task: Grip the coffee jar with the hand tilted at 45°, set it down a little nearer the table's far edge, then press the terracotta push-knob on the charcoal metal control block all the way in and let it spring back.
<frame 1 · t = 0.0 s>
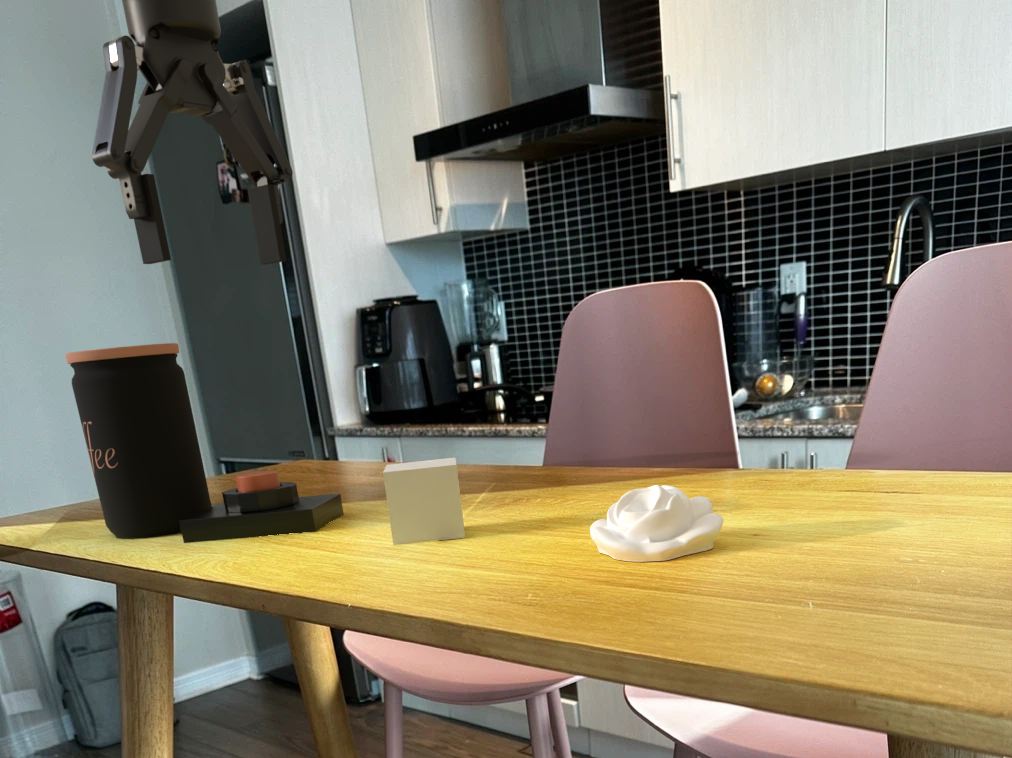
hand: (218, 263, 93), 24 cm above the table, tool pointing down, fingers open, 13 cm apart
coffee jar: (163, 532, 108), on the table
button: (258, 482, 100), point 4 cm above the table, slide at 0.1 cm
control block: (266, 528, 101), on the table
beige cube: (430, 537, 88), on the table
rose: (656, 550, 74), on the table
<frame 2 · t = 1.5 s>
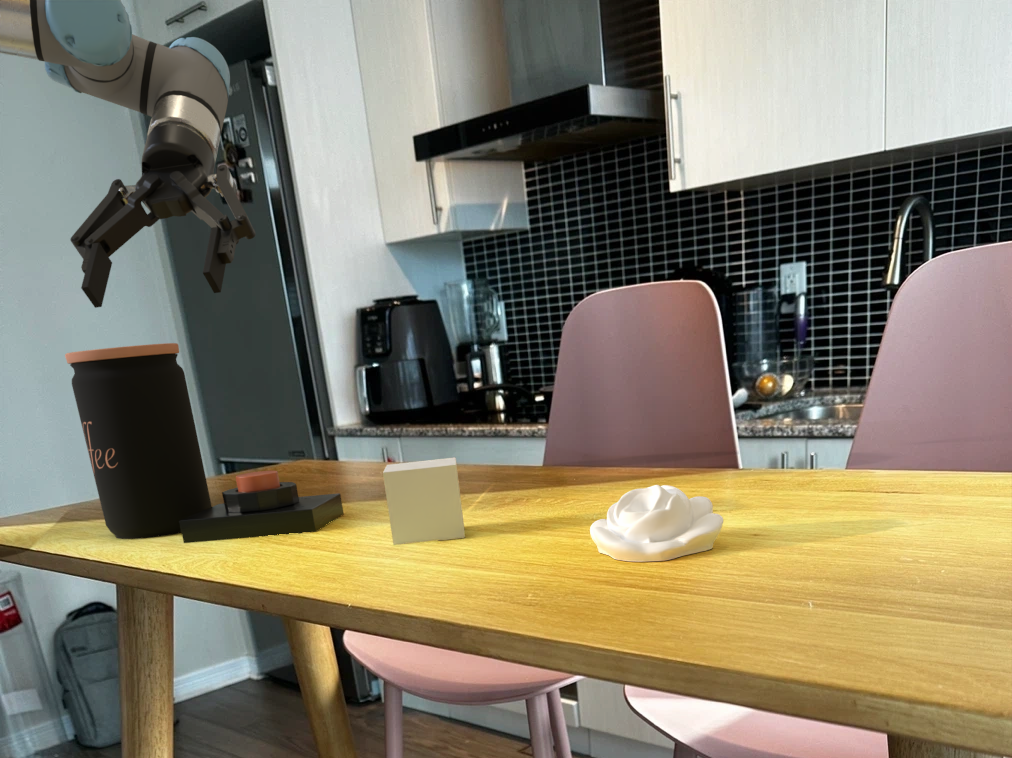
hand: (151, 290, 108), 24 cm above the table, tool tilted 45°, fingers open, 13 cm apart
nothing on the table moved.
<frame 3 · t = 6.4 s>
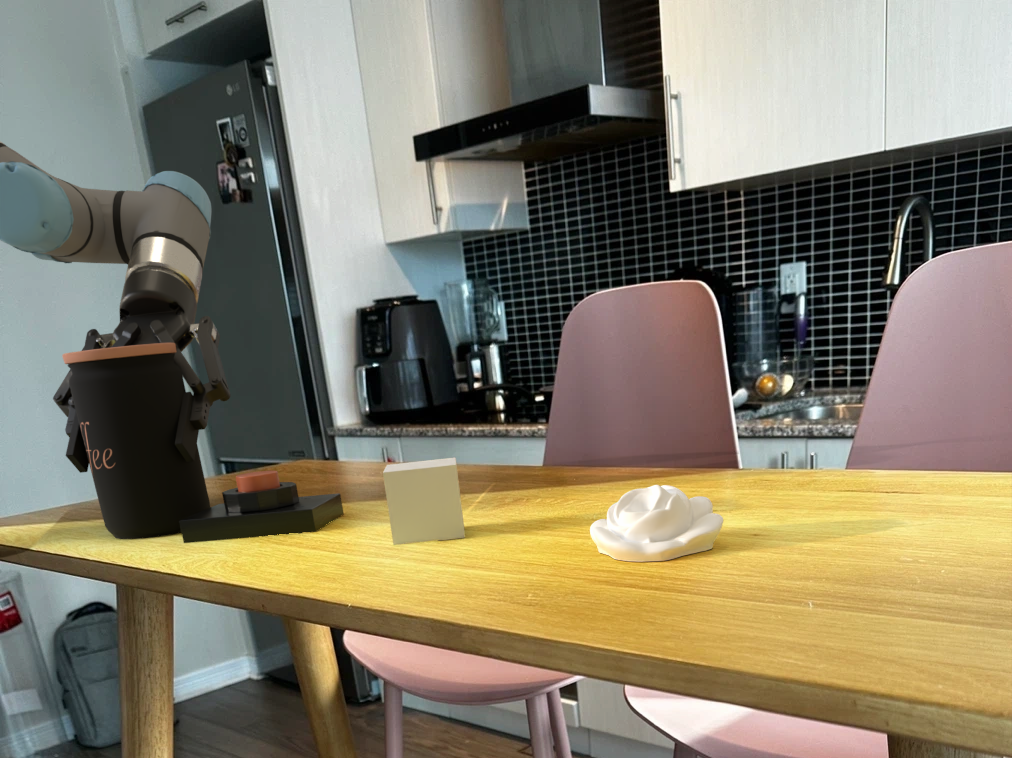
hand: (130, 458, 102), 8 cm above the table, tool tilted 45°, fingers closed on coffee jar, 11 cm apart
coffee jar: (162, 532, 107), on the table, touching gripper
everything else where it was.
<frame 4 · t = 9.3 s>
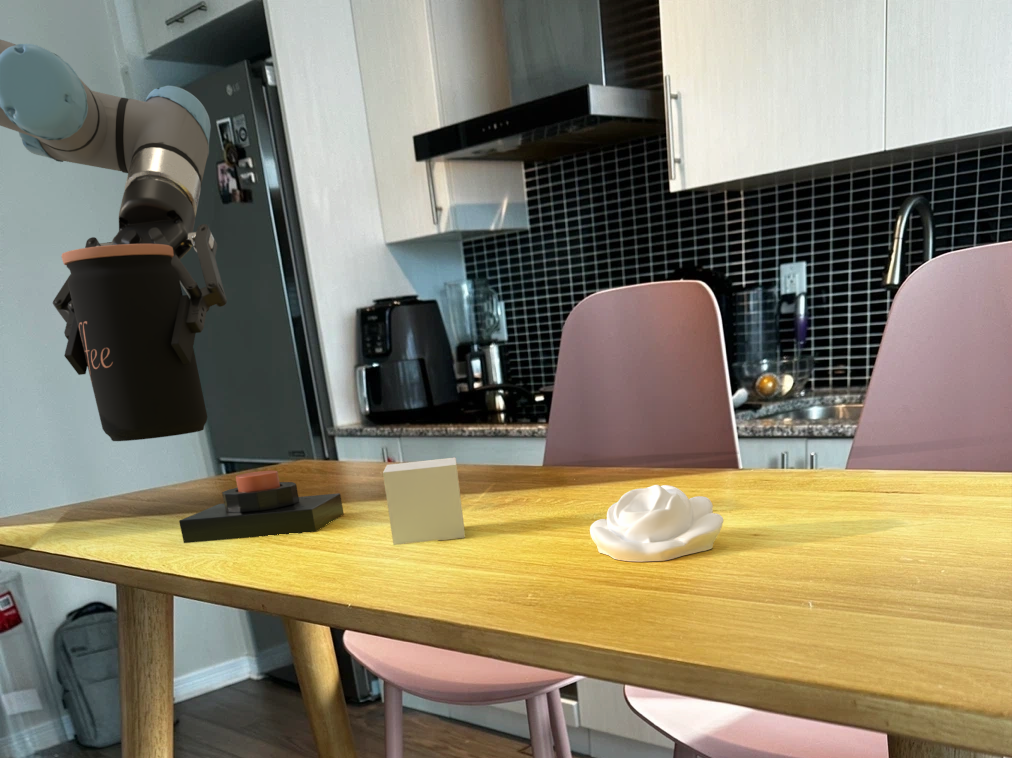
hand: (127, 359, 104), 17 cm above the table, tool tilted 45°, fingers closed on coffee jar, 11 cm apart
coffee jar: (158, 437, 109), point 9 cm above the table, touching gripper
everything else where it was.
when the fingers open (8 cm above the table, at t = 12.7 s): coffee jar stays where it is, on the table.
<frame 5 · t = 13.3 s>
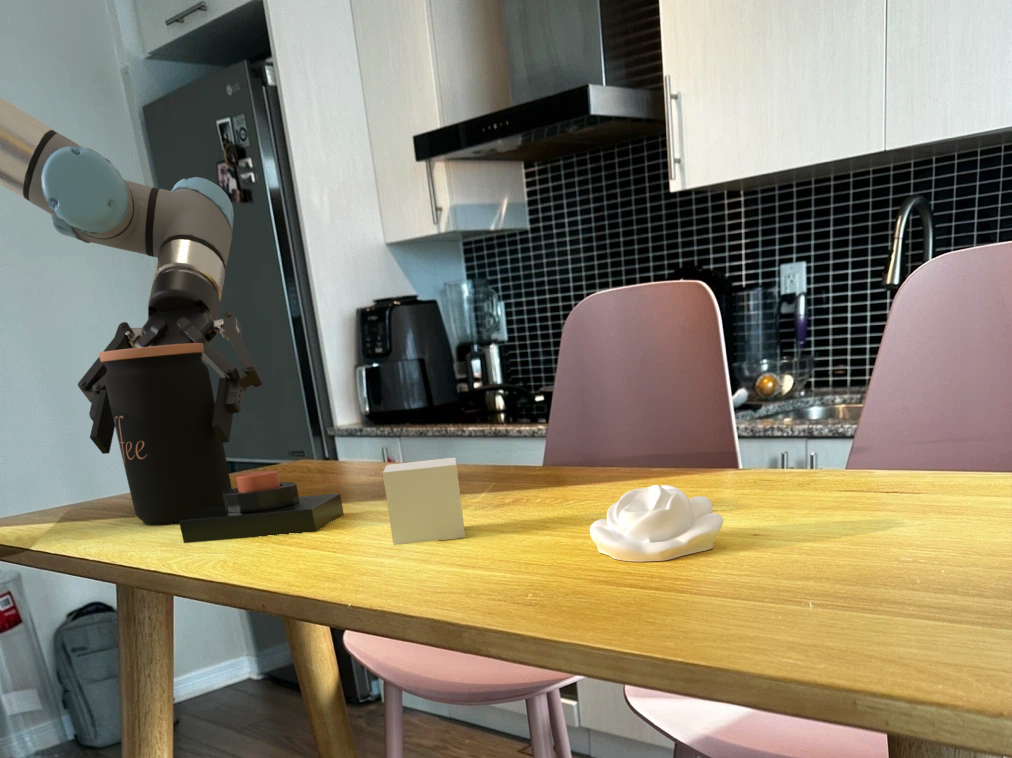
hand: (159, 440, 110), 9 cm above the table, tool tilted 45°, fingers open, 13 cm apart
coffee jar: (188, 519, 115), on the table
everything else where it was.
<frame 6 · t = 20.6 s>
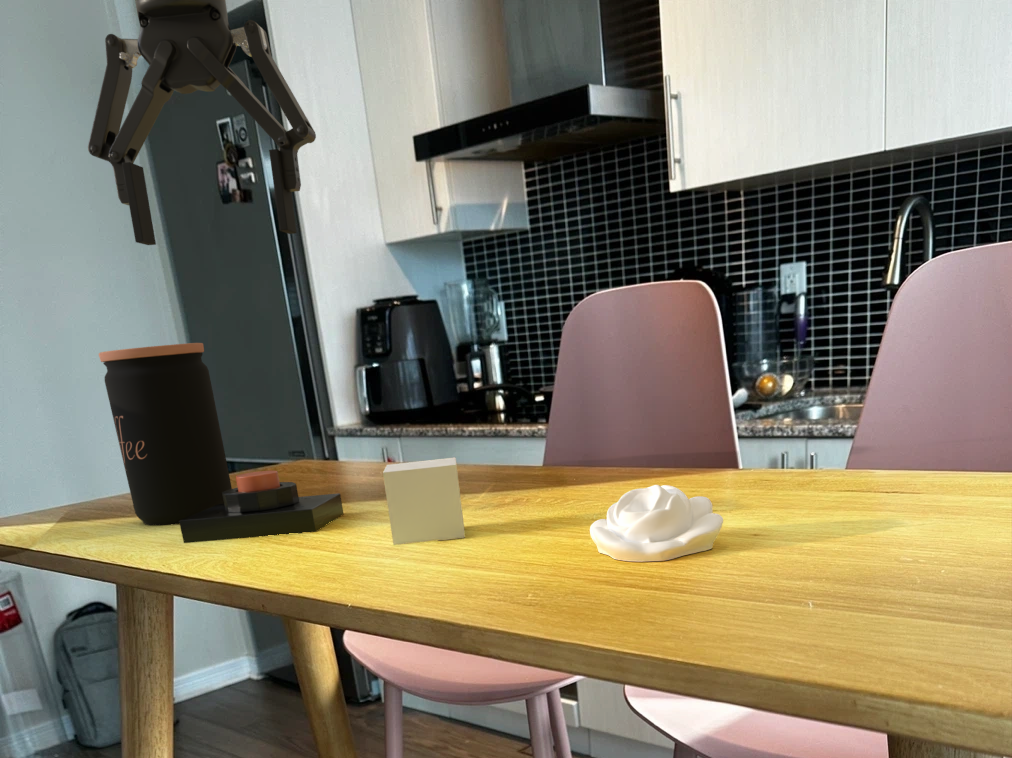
hand: (216, 238, 95), 26 cm above the table, tool pointing down, fingers open, 13 cm apart
nothing on the table moved.
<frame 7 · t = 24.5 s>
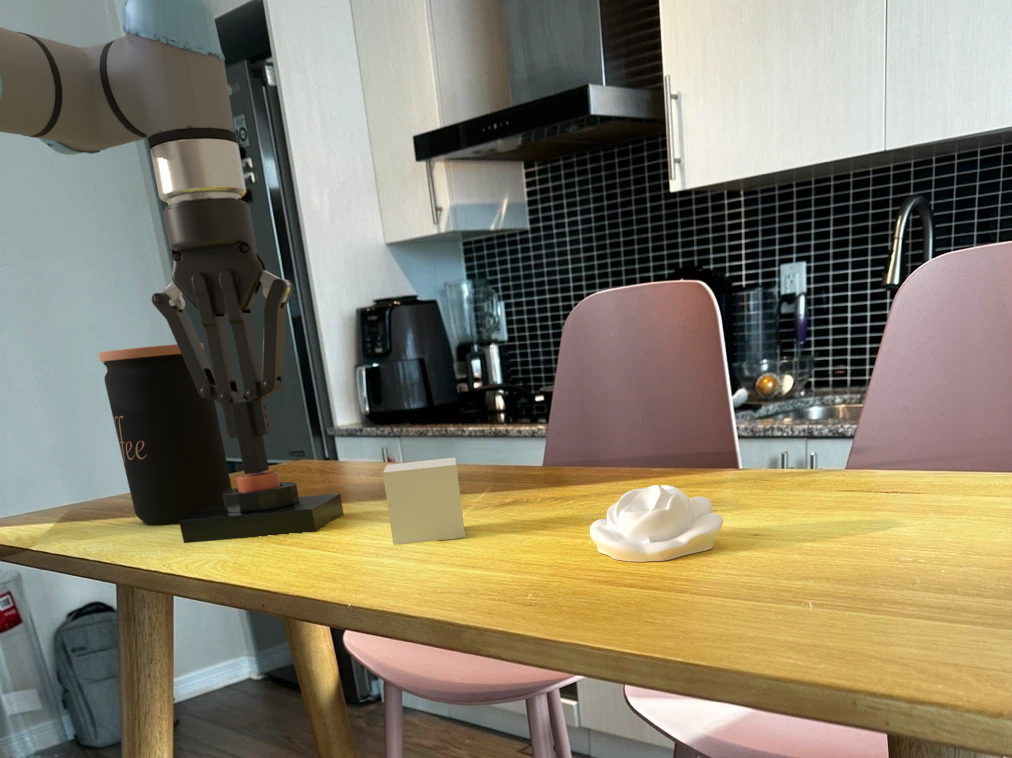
hand: (256, 471, 99), 6 cm above the table, tool pointing down, fingers closed
button: (258, 483, 100), point 4 cm above the table, slide at 0.0 cm, touching gripper
everything else where it was.
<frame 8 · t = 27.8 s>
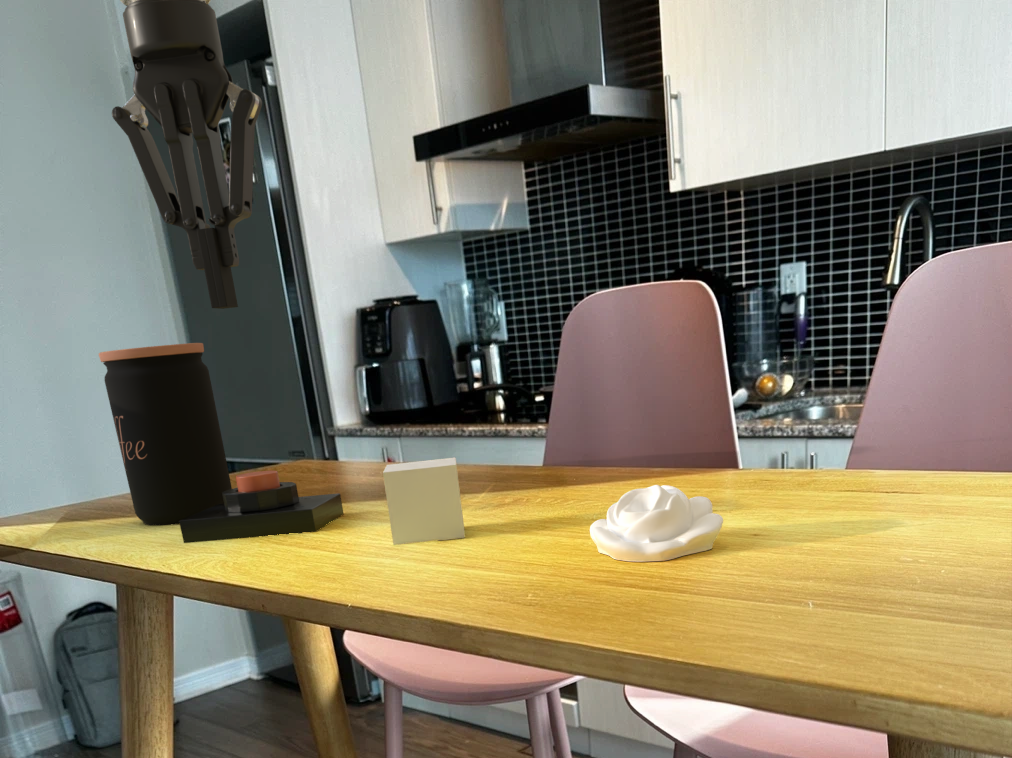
hand: (225, 307, 94), 20 cm above the table, tool pointing down, fingers closed
button: (258, 482, 100), point 4 cm above the table, slide at 0.1 cm
everything else where it was.
at the end: button pushed in 1.0 cm at the most during the clip, back to where it started at the end; button slide at 0.1 cm; coffee jar inside the target area (0.3 cm from its centre), on the table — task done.
